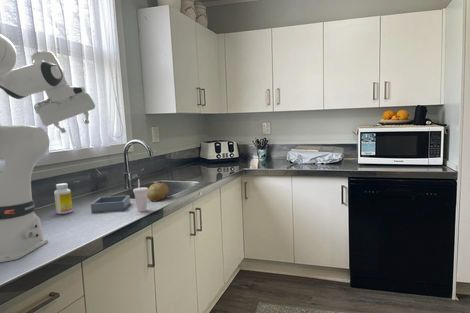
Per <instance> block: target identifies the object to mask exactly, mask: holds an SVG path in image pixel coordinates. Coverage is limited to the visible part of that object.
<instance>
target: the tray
mask: <svg viewBox="0 0 470 313" xmlns="http://www.w3.org/2000/svg"><path fill="white" fill-rule="evenodd" d="M130 198H131V196H130V195H129V194H128V195H126V194H125V195H113V196H99V197H98V198H96V199H95V200H94V201H93V202H91V203H90V209H91V210H90V211H91V214H96V213H99V214H100V213H110V212H123V211H126V209H127V208H128V207H129V205H130V204H131V199H130Z"/></svg>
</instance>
